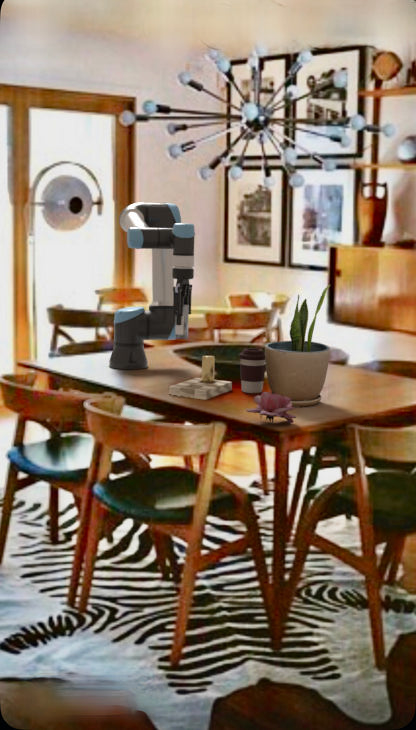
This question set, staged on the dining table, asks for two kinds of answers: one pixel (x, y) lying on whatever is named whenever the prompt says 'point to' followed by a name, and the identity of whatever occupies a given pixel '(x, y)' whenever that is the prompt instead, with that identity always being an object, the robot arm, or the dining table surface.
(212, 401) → the dining table surface
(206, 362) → the yellow rectangular block
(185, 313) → the grey rectangular block
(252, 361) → the coffee cup
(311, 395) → the potted plant
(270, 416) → the flower
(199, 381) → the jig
